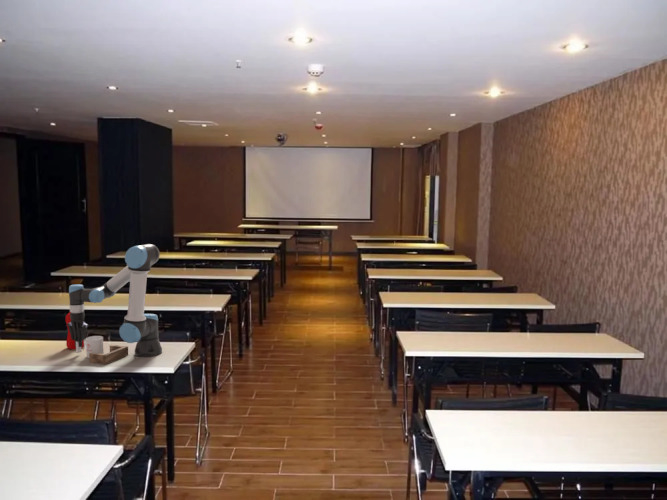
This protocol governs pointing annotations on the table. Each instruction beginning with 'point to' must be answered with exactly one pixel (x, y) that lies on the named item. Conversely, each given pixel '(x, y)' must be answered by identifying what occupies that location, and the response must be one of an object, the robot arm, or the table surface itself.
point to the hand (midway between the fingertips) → (78, 352)
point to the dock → (109, 355)
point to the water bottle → (70, 342)
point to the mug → (94, 345)
